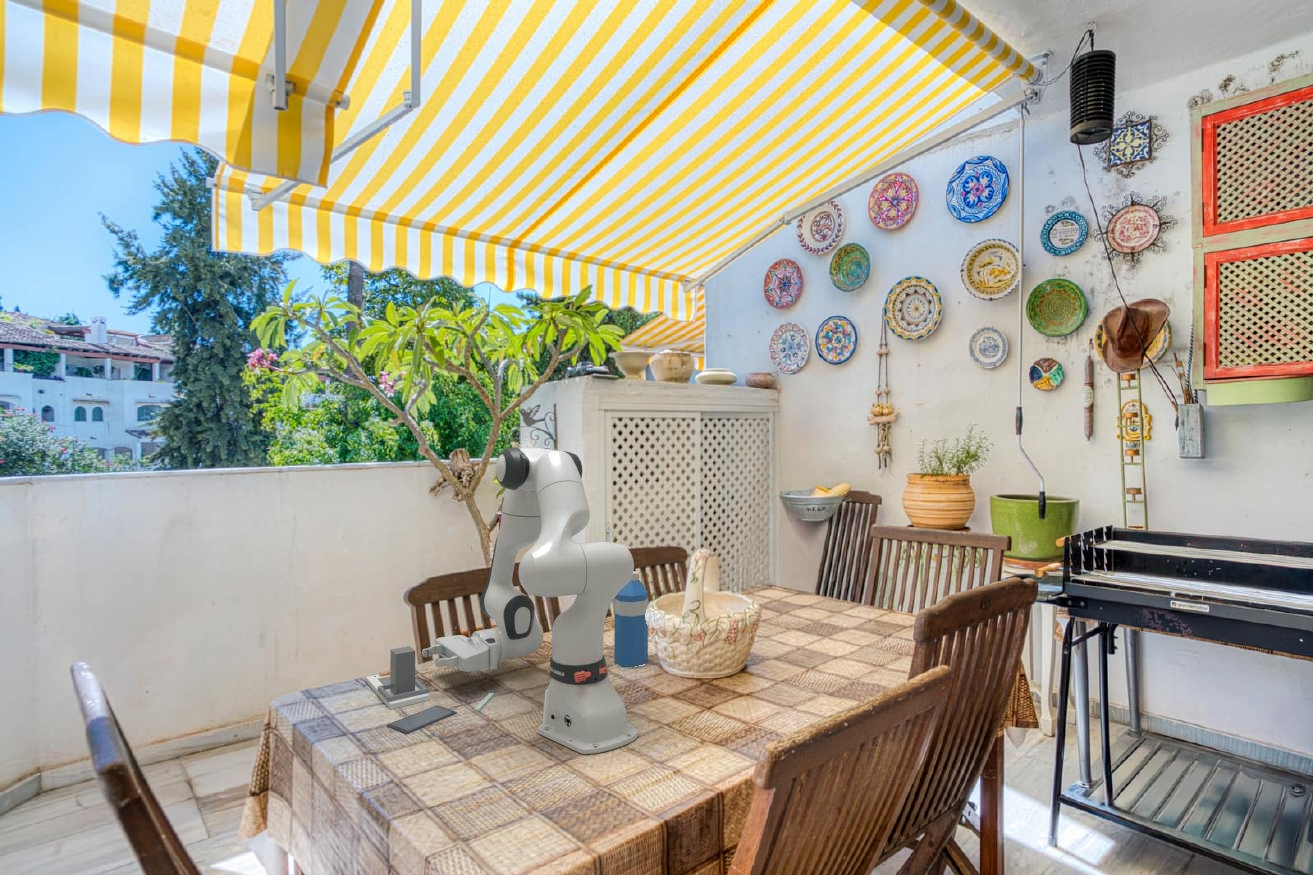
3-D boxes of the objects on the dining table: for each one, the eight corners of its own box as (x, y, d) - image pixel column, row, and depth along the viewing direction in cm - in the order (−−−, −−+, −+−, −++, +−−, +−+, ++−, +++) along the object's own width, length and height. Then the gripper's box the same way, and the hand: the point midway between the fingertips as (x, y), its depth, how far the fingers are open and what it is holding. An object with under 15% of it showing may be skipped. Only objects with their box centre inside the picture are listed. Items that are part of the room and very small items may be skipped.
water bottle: (633, 670, 176) (633, 577, 176) (607, 663, 181) (607, 573, 182) (654, 661, 183) (654, 571, 183) (628, 654, 189) (629, 568, 189)
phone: (456, 716, 148) (456, 711, 148) (406, 737, 137) (406, 732, 137) (437, 709, 152) (437, 704, 152) (386, 729, 141) (386, 724, 141)
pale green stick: (489, 696, 159) (489, 692, 159) (494, 697, 158) (494, 693, 158) (473, 713, 149) (473, 709, 149) (478, 713, 149) (478, 709, 149)
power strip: (429, 700, 155) (429, 690, 155) (390, 709, 150) (390, 699, 150) (402, 674, 173) (402, 665, 173) (365, 681, 167) (365, 673, 167)
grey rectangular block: (415, 692, 157) (415, 650, 157) (395, 696, 154) (395, 654, 154) (409, 686, 161) (409, 646, 161) (390, 691, 158) (390, 649, 158)
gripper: (467, 626, 178) (415, 635, 169) (499, 645, 162) (444, 656, 153) (467, 649, 178) (415, 660, 169) (499, 670, 162) (444, 683, 153)
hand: (429, 658), depth 161 cm, fingers open, 8 cm apart
